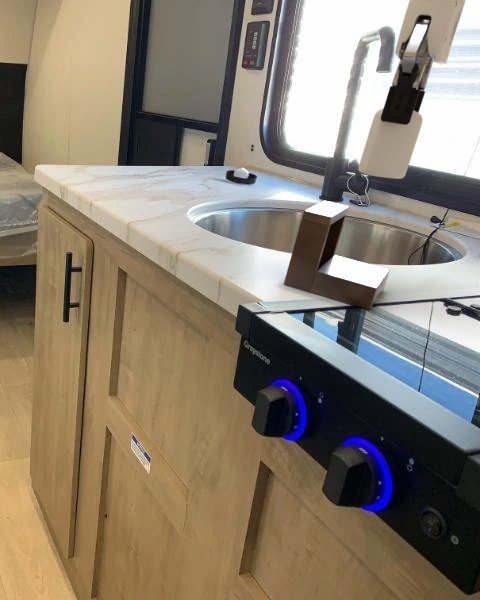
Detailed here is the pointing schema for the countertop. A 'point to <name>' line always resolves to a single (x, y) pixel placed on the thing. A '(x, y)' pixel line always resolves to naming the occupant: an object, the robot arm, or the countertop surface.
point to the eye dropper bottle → (389, 147)
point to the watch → (241, 176)
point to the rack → (331, 260)
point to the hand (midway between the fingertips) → (398, 121)
